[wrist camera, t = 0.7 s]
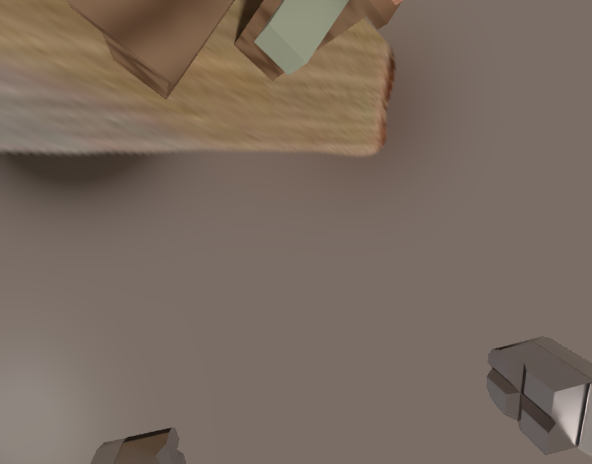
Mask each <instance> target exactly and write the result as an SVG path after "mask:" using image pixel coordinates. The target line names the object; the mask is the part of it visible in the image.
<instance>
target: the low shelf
mask: <svg viewBox="0 0 592 464" xmlns="http://www.w3.org/2000/svg"><path fill="white" fill-rule="evenodd" d="M67 1H68V3H69V5H70V7H71V8H72V9H73V10H75V11H76V12H77V13H79V14H80V15H81V16H82V17H84V18H85V19H86V20H88V21H89V22H90V23H91V24H93V25H94V26H95V27H96V28H98V29H99V30H100V31H102V34H103V36H104V38H105V41H106V43H107V45H108V47H109V50H110V52H111V54H112V57H113V59H114V61H116V62H117V63H118V64H120V65H121V66H122V67H124V68H125V69H126V70H128V71H129V72H130V73H132V74H133V75H134V76H136V77H137V78H138V79H140V80H141V81H142V82H144V83H145V84H146V85H148V86H149V87H150V88H152V89H153V90H154V91H156V92H157V93H158V94H160V95H161V96H162V97H164V98H165V99H167V98H168V96H169V95H170V93H171V92H172V90H173V89H174V88H175V86H176V85H177V83H178V82H179V80H180V79H181V77H182V76H183V75H184V73H185V72H186V70H187V69H188V67H189V66H190V64H191V63H192V61H193V60H194V59H195V57H196V56H197V54H198V53H199V51H200V50H201V48H202V47H203V46H204V44H205V43H206V41H207V40H208V38H209V37H210V35H211V34H212V32H213V31H214V30H215V28H216V27H217V25H218V24H219V22H220V21H221V19H222V18H223V17H224V15H225V14H226V12H227V11H228V9H229V8H230V6H231V5H232V3H233V2H234V1H235V0H67Z"/></svg>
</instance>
